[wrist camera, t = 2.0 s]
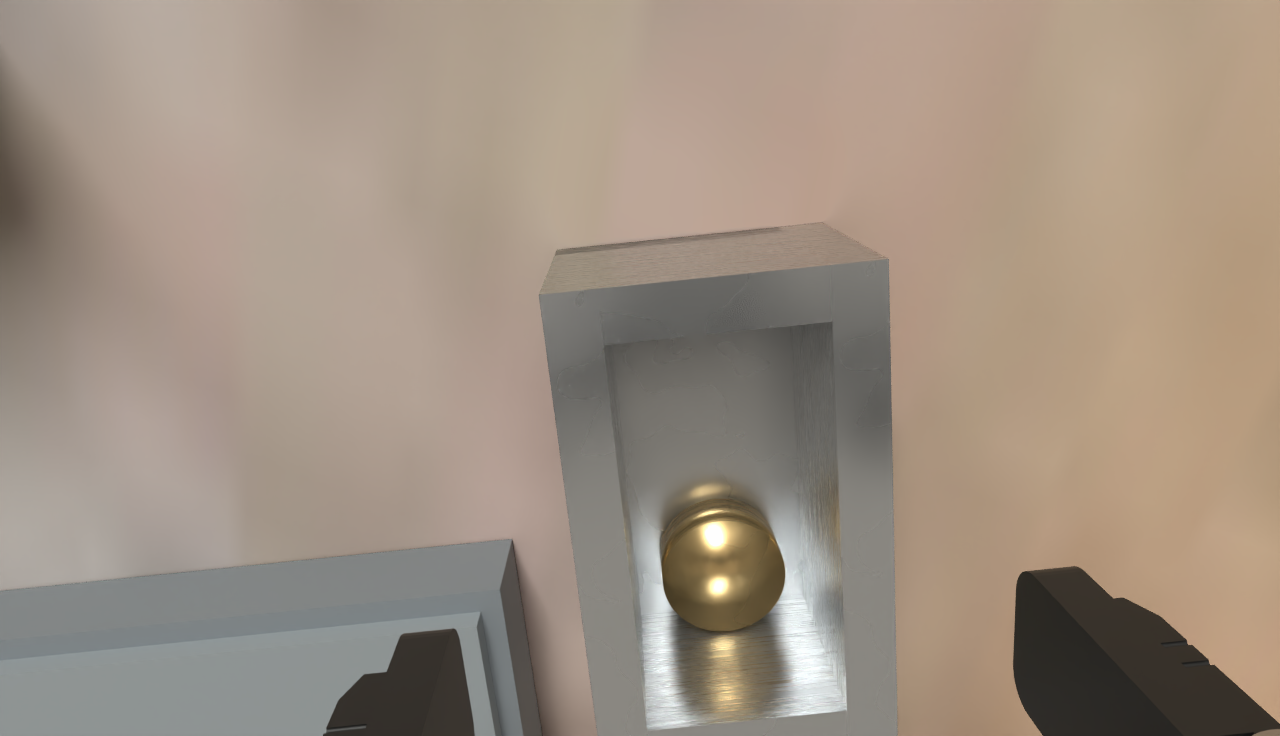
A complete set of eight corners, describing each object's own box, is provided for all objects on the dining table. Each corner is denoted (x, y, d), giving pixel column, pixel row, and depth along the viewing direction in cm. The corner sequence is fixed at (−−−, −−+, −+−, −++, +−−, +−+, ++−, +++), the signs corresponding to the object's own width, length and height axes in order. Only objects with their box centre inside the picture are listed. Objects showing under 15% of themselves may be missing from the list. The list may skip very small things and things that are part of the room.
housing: (822, 222, 20) (888, 258, 15) (837, 612, 23) (897, 747, 18) (557, 249, 20) (539, 294, 15) (605, 635, 23) (602, 777, 18)
